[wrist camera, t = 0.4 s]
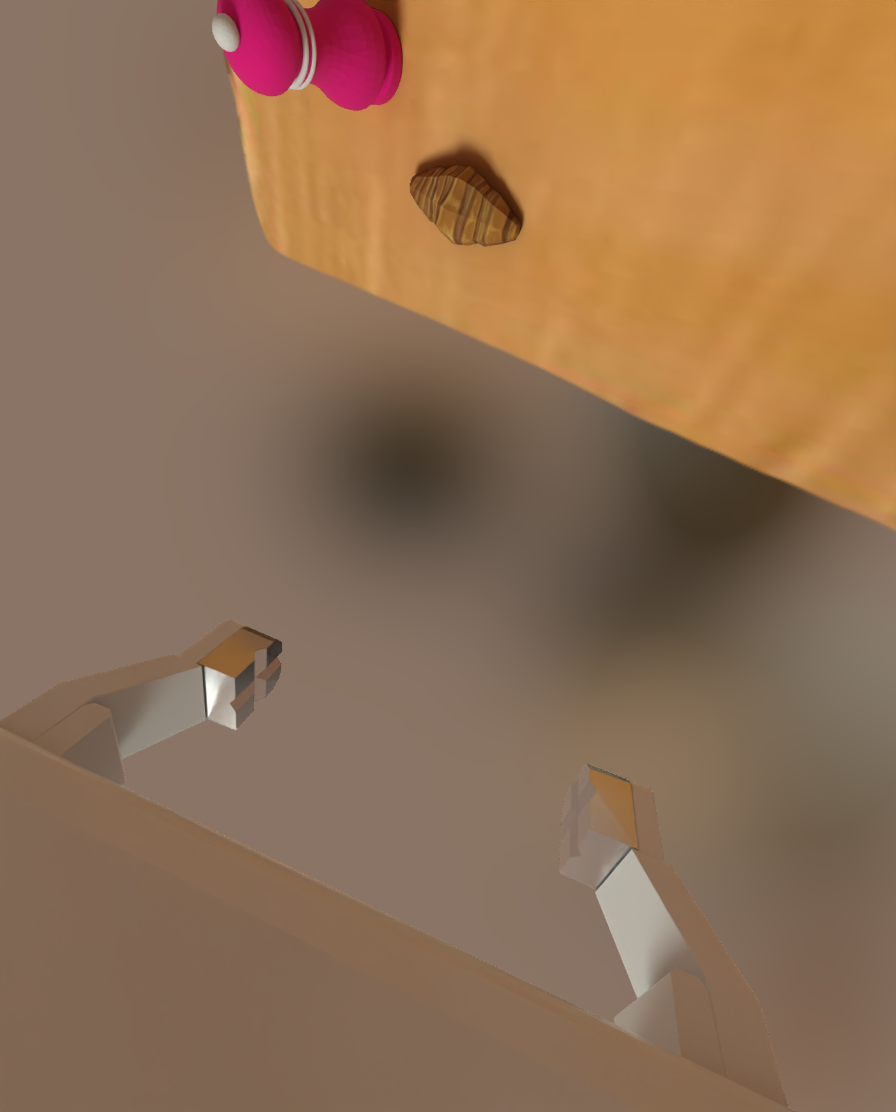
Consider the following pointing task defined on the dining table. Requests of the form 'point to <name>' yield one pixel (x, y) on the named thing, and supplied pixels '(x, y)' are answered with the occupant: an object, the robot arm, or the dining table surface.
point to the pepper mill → (312, 48)
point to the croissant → (464, 206)
